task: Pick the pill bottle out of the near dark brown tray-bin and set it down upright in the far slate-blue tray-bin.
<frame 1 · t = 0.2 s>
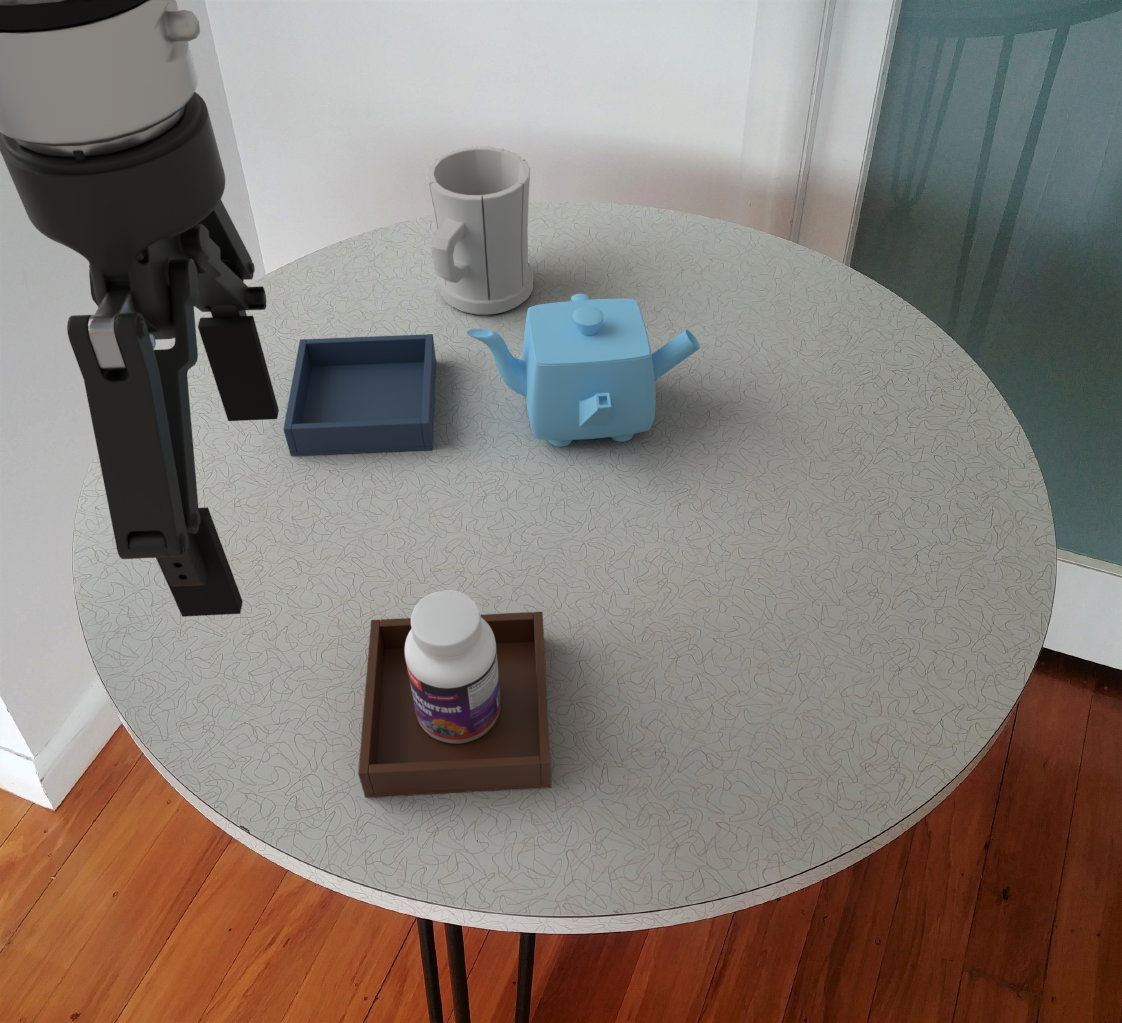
hand: (235, 504, 55), 19 cm above the table, tool pointing down, fingers open, 13 cm apart
far bin: (366, 406, 88), on the table
teapot: (586, 423, 86), on the table
near bin: (459, 712, 68), on the table
pill bottle: (459, 711, 67), resting on near bin
cup: (486, 296, 98), on the table
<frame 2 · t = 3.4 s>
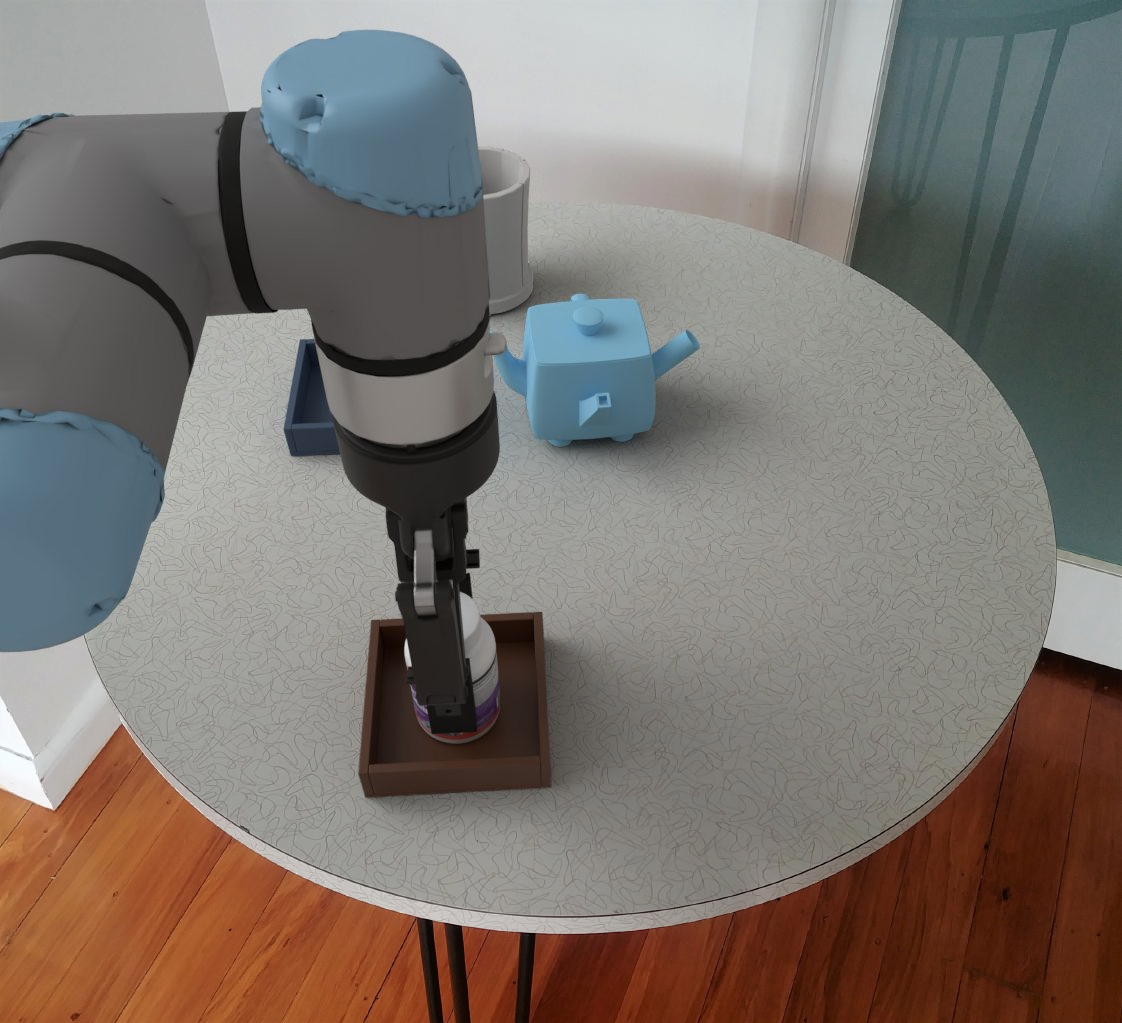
hand: (455, 683, 65), 3 cm above the table, tool pointing down, fingers closed on pill bottle, 5 cm apart
pill bottle: (459, 711, 67), resting on near bin, touching gripper
everything else where it was.
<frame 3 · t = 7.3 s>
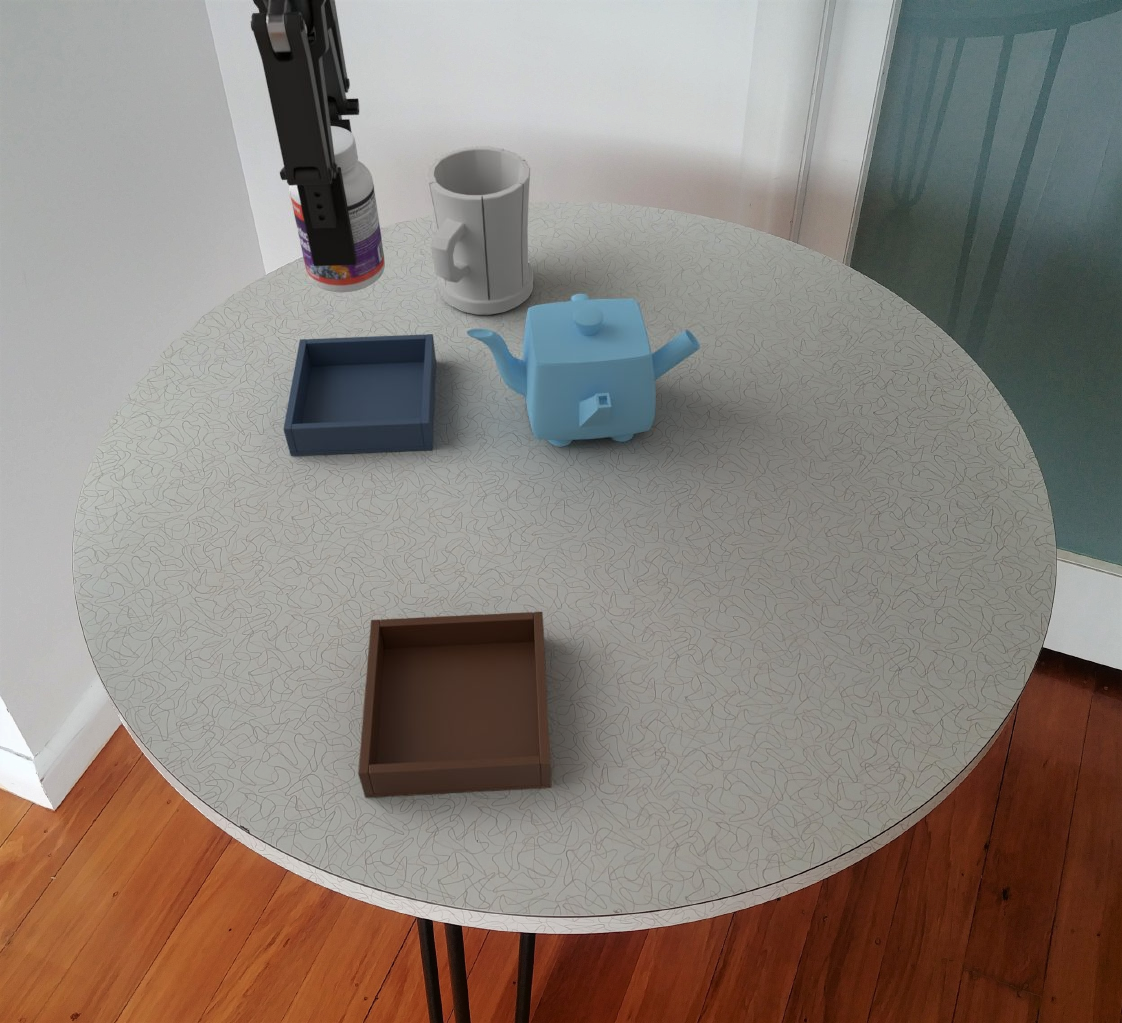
hand: (339, 235, 71), 19 cm above the table, tool pointing down, fingers closed on pill bottle, 5 cm apart
pill bottle: (347, 274, 73), point 16 cm above the table, touching gripper
everything else where it was.
when the fingers open (3 cm above the table, at t = 11.4 s): pill bottle stays where it is, resting on far bin.
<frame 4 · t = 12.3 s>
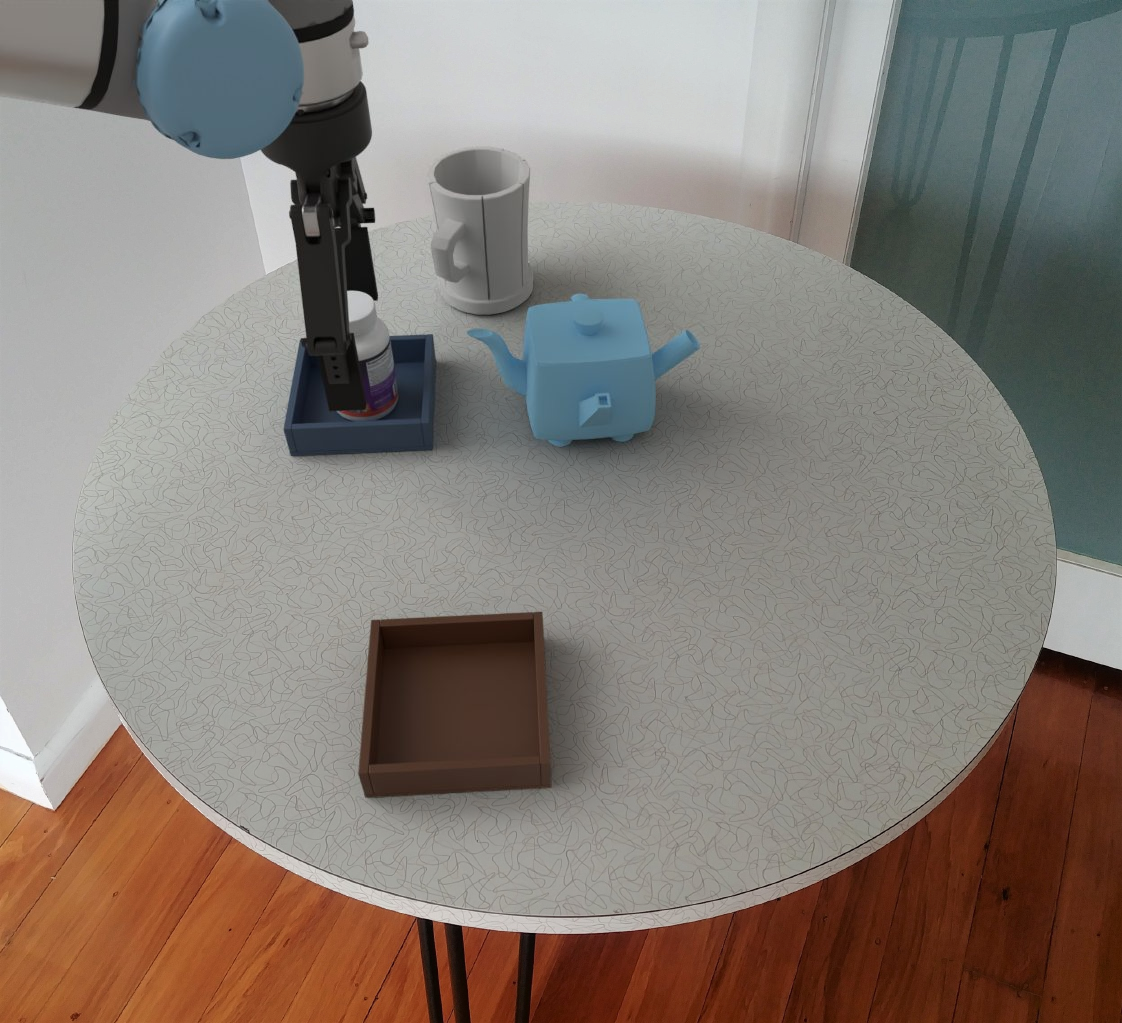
hand: (355, 350, 83), 6 cm above the table, tool pointing down, fingers open, 13 cm apart
pill bottle: (366, 404, 88), resting on far bin
everything else where it was.
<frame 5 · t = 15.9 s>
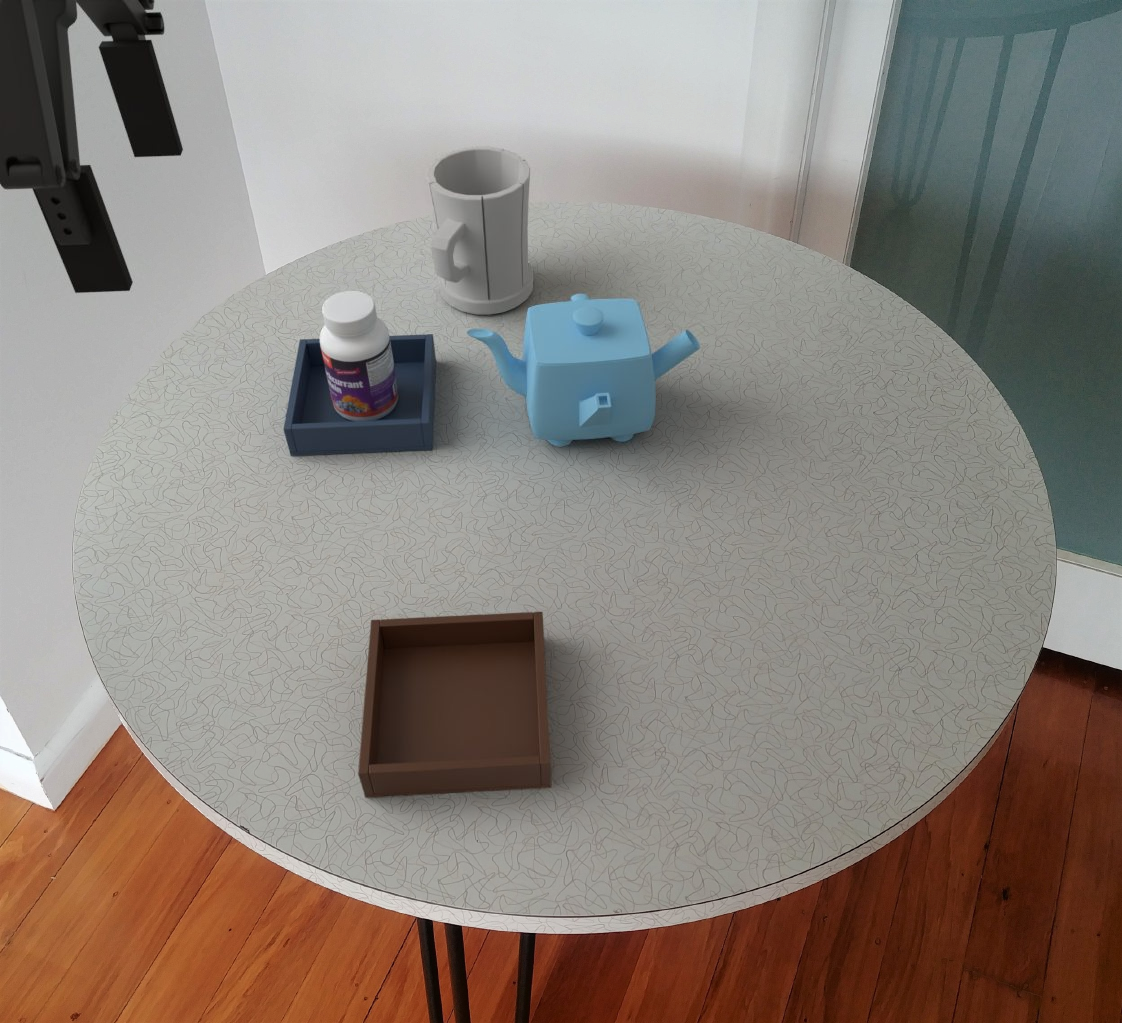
hand: (134, 216, 58), 27 cm above the table, tool pointing down, fingers open, 13 cm apart
nothing on the table moved.
at the end: pill bottle inside the target area in the far bin (0.0 cm from its centre), point 0.2 cm above the far bin's base; pill bottle tilted 0°; the gripper is holding nothing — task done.
